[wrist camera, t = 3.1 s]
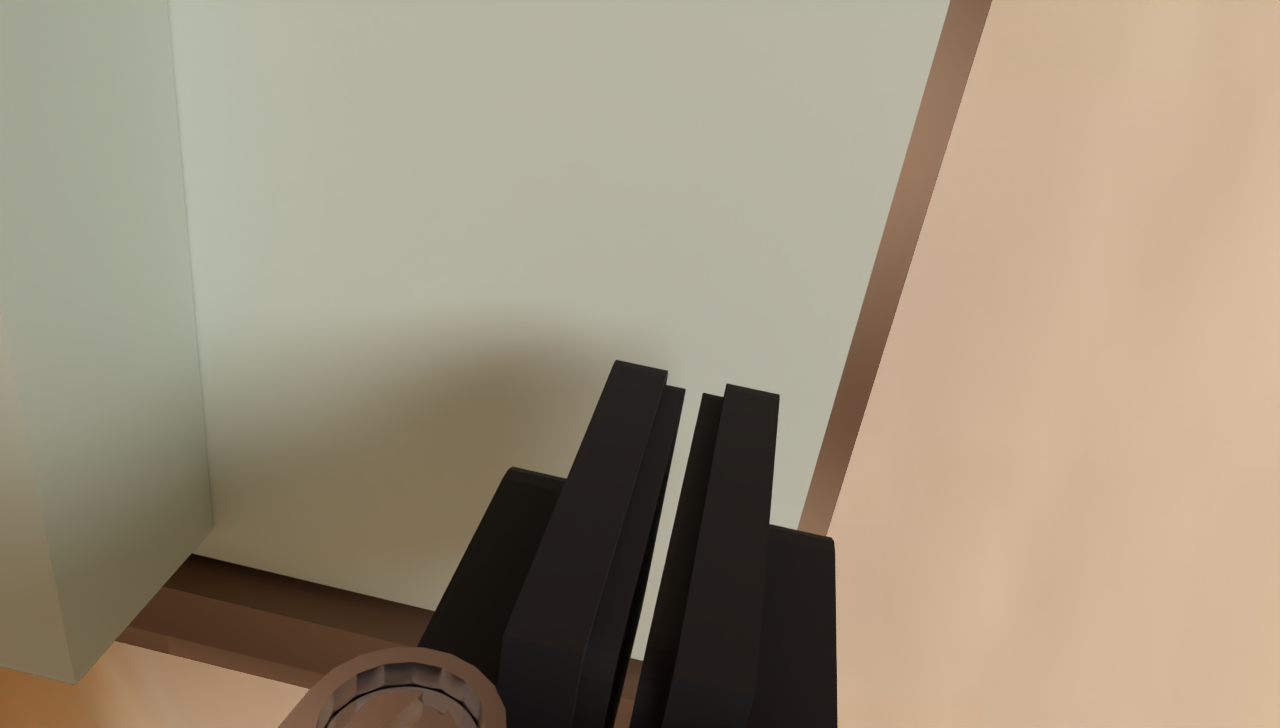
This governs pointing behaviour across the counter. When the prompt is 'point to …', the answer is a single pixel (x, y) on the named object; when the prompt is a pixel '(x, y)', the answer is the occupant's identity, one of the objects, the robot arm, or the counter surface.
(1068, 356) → the counter surface
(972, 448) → the counter surface
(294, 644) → the brown box
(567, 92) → the lid
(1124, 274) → the counter surface
